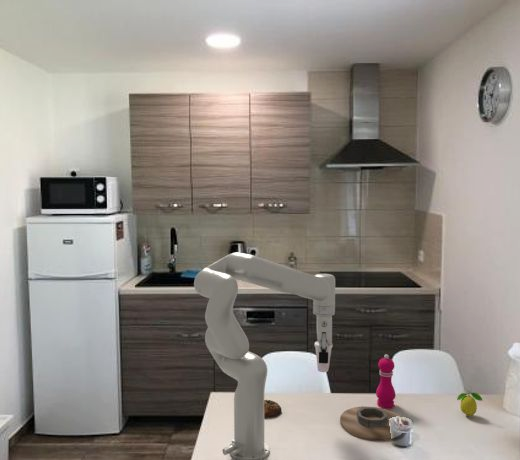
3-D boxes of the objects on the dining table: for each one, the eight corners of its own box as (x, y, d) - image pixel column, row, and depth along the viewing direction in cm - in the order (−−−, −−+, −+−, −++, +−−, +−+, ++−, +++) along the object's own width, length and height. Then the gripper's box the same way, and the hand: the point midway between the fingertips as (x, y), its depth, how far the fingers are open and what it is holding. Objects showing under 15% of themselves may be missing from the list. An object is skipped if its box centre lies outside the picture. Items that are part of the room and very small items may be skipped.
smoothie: (331, 367, 174) (332, 329, 173) (332, 374, 167) (333, 334, 166) (313, 366, 174) (314, 328, 173) (313, 373, 168) (314, 333, 167)
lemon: (482, 418, 175) (483, 391, 174) (469, 421, 173) (470, 394, 172) (467, 410, 181) (468, 384, 181) (455, 413, 179) (456, 387, 178)
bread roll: (280, 419, 175) (278, 405, 175) (250, 421, 177) (248, 407, 177) (283, 406, 186) (282, 394, 186) (255, 408, 188) (253, 396, 188)
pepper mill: (375, 408, 184) (376, 356, 182) (376, 400, 191) (377, 350, 189) (395, 410, 182) (396, 358, 180) (395, 402, 189) (396, 352, 187)
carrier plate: (381, 447, 155) (382, 435, 155) (327, 424, 171) (327, 413, 171) (416, 424, 171) (416, 413, 170) (363, 405, 186) (363, 395, 186)
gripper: (336, 315, 160) (335, 369, 162) (333, 304, 177) (332, 352, 179) (313, 315, 161) (312, 368, 163) (313, 303, 178) (312, 351, 180)
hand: (323, 359), depth 171 cm, fingers closed on smoothie, 5 cm apart
